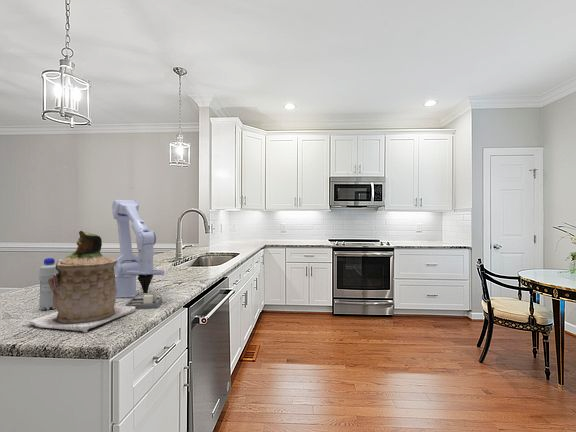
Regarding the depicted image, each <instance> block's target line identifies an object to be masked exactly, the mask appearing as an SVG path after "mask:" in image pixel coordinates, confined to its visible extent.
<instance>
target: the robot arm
mask: <svg viewBox="0 0 576 432" xmlns="http://www.w3.org/2000/svg"><path fill="white" fill-rule="evenodd" d="M139 208H140V207H139V202H138V201H137V199H134V200H131V199H130V200H128V199H114V200H113V201H112V205H111V210H112V217H113V219H114V220H116V223H117V224H116V225H117V230H118V231H117V234H118V240H119V241H118V242H119V243H118V244H119V253H120V255H119V256H118V257H117V258H115V260H117V264H116V265H115V266H114V272H115V277H116V289H117V294H116V299H117V298H118V299H119V298H133V297H136V296H138V294H140V293H139V292H140V291H137V280H138V282H139V283H140V286H141V289H142V293H143V294H148V293H149V289H150V284H151V283H152V279H153V278H154V276H165V269H154V246H155V244H156V242H157V235H156V232H155V231H154V230H152V229H151V230H150V228H149V226H148V225H147V223H146V221H145V220H144V219H141V216H140V214H139ZM130 221H131V223H132V224H131V228H130ZM130 229H132V231H133V232H134V234H135V243H136V249H137V250H138V255H137V256H136V255H135V254H134V253H133V247H132V246H133V245H132V235H131V230H130Z"/></svg>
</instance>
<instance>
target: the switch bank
mask: <svg viewBox="0 0 576 432" xmlns="http://www.w3.org/2000/svg"><path fill="white" fill-rule="evenodd" d="M135 297H136V296H135ZM135 297H131V299H129V300H128V301H127V302H126V303H125V306H134V307H136V308H135V310H149V309H159V307H160V305H161V304H162V303H163V296H161V295H160V296H159V297H158V296H157V300H153V303H152V304H143V298H144V297H141V298H140V297H137V298H135Z"/></svg>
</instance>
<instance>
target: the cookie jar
mask: <svg viewBox="0 0 576 432" xmlns="http://www.w3.org/2000/svg"><path fill="white" fill-rule="evenodd" d="M78 234H79V238H78V239H77V242H76V245H77V248H76V249H75V250H74V251H73V252H72V253H70V254H69V255H67V256H65V258H64V259H59V260H57V262H56V266H55V268H56V270H57V271H58V273H54V274H53V277H51V278H49V280H48V284H49V286H50V288H51V290H52V292H53V294H54V295H53V306H54V307H55V309H56V310H57V311H56V312H54V313H51V314H47V315H44V316H41V317H37V318H32V319H27V320H26V322H27V323H28V324H32V325H33V326H35V327H37V328H42V329H43V328H45V329H46V328H47V329H56V330H67V331H75V332H76V331H77V332H83V333H88V330H89V329H93V328H95V327H98V326H101V325H103V324H106V323H108V322H110V321H113V320H115V319H119V318H120V317H123V316H126V315H129V314H133V313H135V310H136V309H135V308H136V307H134V306H126V305H115V304H116V299H117V298H116V294H117V289H116V277H117V276H116V275H115V272H114V266H115V265H116V264H117V260H116V258H109V257H108V256H105V255H102V252H101V250H102V246H103V244H102V242H103V241H102V237H101V236H100V235H98V234H94V233H91V232H85V231H84V230H82V229H81V230H80V231H79V232H78Z"/></svg>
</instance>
